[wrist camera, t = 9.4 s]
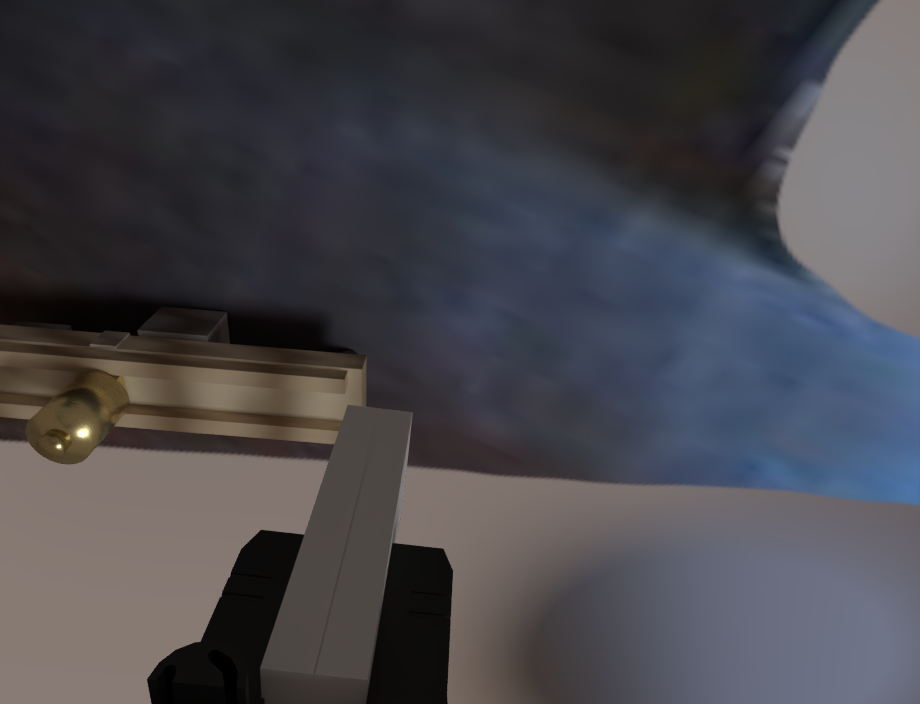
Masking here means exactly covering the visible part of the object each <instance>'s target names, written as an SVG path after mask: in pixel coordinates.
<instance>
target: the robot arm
mask: <svg viewBox="0 0 920 704" xmlns="http://www.w3.org/2000/svg"><path fill="white" fill-rule="evenodd" d="M412 413H413V412H405V411H397V410H388V409H380V408H371V407H363V406H355V405H347V408H346V411H345V414H344V417H343V420H342V423H341V426H340V429H339V432H338V435H337V438H336V441H335V444H334V447H333V450H332V453H331V456H330V459H329V462H328V465H327V469H326V471H325V475H324V478H323V481H322V484H321V487H320V490H319V493H318V496H317V499H316V502H315V505H314V508H313V511H312V514H311V517H310V520H309V523H308V526H307V529H306V532H305V535H301V534H293V533H284V532H275V531H266V530H261V531H259V532H258V533H257V534H256V535H255V536H254V537H253V538H252V539H251V540H250V541H249V542H248V543H247V544H246V545H245V546H244V547H243V548H242V549H241V551H240V553H239V555H238V558H237V560H236V562H235V564H234V567H233V569H232V572H231V576H230V578H228V580H227V583H226V585H225V587H224V590H223V592H222V597H220V599H219V601H218V603H217V606H216V608H215V610H214V612H213V615H212V617H211V619H210V621H209V624H208V626H207V628H206V631H205V633H204V635H203V637H202V640H201V642H195V643H193V644H190V645H187V646H185V647H182V648H180V649H177V650H175V651H174V652H172V653H171V654H170V655H169V656H167V657H166V658H165V659H163V660H162V661H161V662H159V664H158V665H157V666H156V668H155V669H154V671H153V672H152V673H151V675H150V676H149V677H148V679H147V682H148V687H149V692H150V698H151V703H152V704H448V703H447V683H448V662H449V641H450V617H451V597H452V580H453V570H452V568H451V565H450V563H449V561H448V558H447V556H446V554H445V551H444V549H441V548H432V547H423V546H414V545H405V544H397V537H398V530H399V524H400V518H401V511H402V504H403V497H404V487H405V479H406V469H407V460H408V450H409V441H410V431H411V422H412Z"/></svg>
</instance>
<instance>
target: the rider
mask: <svg viewBox="0 0 920 704" xmlns="http://www.w3.org/2000/svg"><path fill="white" fill-rule="evenodd" d="M129 404H130V400H129V395H128V393H127V390H126V385H125V380H124V376H118V375H107V374H105V373H102V372H97V371H87V372H83V373H80V374H79V375H77V376H76V377H75V378H74V379H73V380H72V381H70V382H69V383H68V384H67V385H66V386H65V387H64V388H63V389H62V390H61V391H60V392H59V393H58V394H57V395H55V396H54V397H53V398H52V399H51V400H50V401H49V402H48V403H47V404H46V405H45V406H44V407H43V408H41V409H40V410H39V411H38V412H37V413H36V414H35V415H34V416H33V417H32V418H31V419H30V420H29V421H28V423H27V425H26V430H25V431H26V437H27V439H28V441H29V443H30V445H31V446H32V447H33V448H34V449H35V450H36V451H37V452H38V453H39V454H41V455H42V456H43V457H45V458H47V459H49V460H51V461H54V462H57V463H61V464H76V463H79V462H82V461H84V460H85V459H86V458H87V457H88V456H89V455H90V454H91V452H92V451H93V450H94V449H95V448H96V447H97V446H98V444H99V443H100V442H101V441H102V440H103V439H104V437H105V436H106V435H107V434H108V433H109V432H110V430H111V429H112V428H113V427H114V426H115V425H116V423H117V422H118V421H119V420H120V419H121V418H122V416H123V415H124V414H125V413H126V412H127V410H128V408H129Z"/></svg>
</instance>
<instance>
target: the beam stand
mask: <svg viewBox="0 0 920 704" xmlns="http://www.w3.org/2000/svg"><path fill="white" fill-rule="evenodd" d="M366 363H367V355H358V354H357V353H356V352H354V351H350V350H346V351H343V352H341V353H332V352H320V351H308V350H296V349H284V348H272V347H261V346H249V345H237V344H230V338H229V329H228V320H227V312H220V311H209V310H197V309H185V308H173V307H161V308H160V309H159V310H158V311H157V312H156V313H155V314H154V315H153V316H152V317H151V318H149V319H148V320H147V321H146V322H145V323H144V324H143V325H142V326H141V327H140V328H139V329H138V336H130V333H126V332H114V331H104V332H103V333H95V332H83V331H72V329H71V325H61V324H49V323H37V322H25V321H17V322H16V323H14V324H13V325H0V417H9V418H21V419H31V418H32V417H33V416H34V415H35V414H36V413H37V412H38V411H39V410H40V409H41V408H43V407H44V406H45V405H46V404H47V403H48V402H49V401H50V400H51V399H52V398H53V397H54V396H55V395H57V394H58V393H59V392H60V391H61V390H62V389H63V388H64V387H65V386H66V385H67V384H68V383H69V382H70V381H72V380H73V379H74V378H75V377H76V376H77V375H79V374H80V373H83V372H87V371H97V372H102V373H105V374H107V375H118V376H124V380H125V385H126V390H127V393H128V395H129V400H130V404H129V408H128V410H127V412H126V413H125V414H124V415H123V416H122V418H121V419H120V420H119V421H118V422H117V423H116V425H115V426H119V427H131V428H143V429H156V430H168V431H180V432H192V433H204V434H217V435H229V436H241V437H253V438H266V439H278V440H290V441H302V442H314V443H327V444H335V441H336V438H337V435H338V432H339V429H340V426H341V423H342V420H343V417H344V414H345V411H346V408H347V405H355V406H363V407H366Z"/></svg>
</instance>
